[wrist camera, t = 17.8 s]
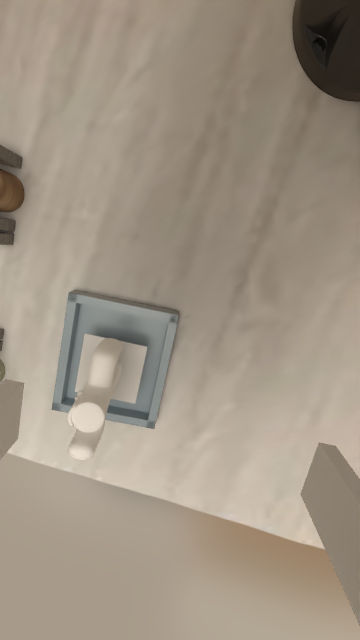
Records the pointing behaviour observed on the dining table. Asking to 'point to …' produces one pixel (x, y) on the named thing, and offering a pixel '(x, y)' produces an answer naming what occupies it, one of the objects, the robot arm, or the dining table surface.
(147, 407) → the tray
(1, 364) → the green dowel
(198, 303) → the dining table surface
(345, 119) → the dining table surface
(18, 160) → the clip posts
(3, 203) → the brown rounded cylinder
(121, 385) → the figurine
